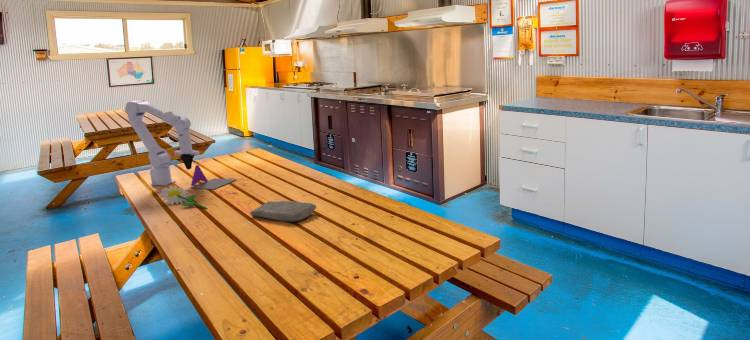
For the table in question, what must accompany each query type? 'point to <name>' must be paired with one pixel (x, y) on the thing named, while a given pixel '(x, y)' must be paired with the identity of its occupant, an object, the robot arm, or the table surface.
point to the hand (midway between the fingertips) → (189, 168)
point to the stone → (284, 210)
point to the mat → (213, 184)
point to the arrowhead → (198, 176)
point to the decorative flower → (178, 196)
